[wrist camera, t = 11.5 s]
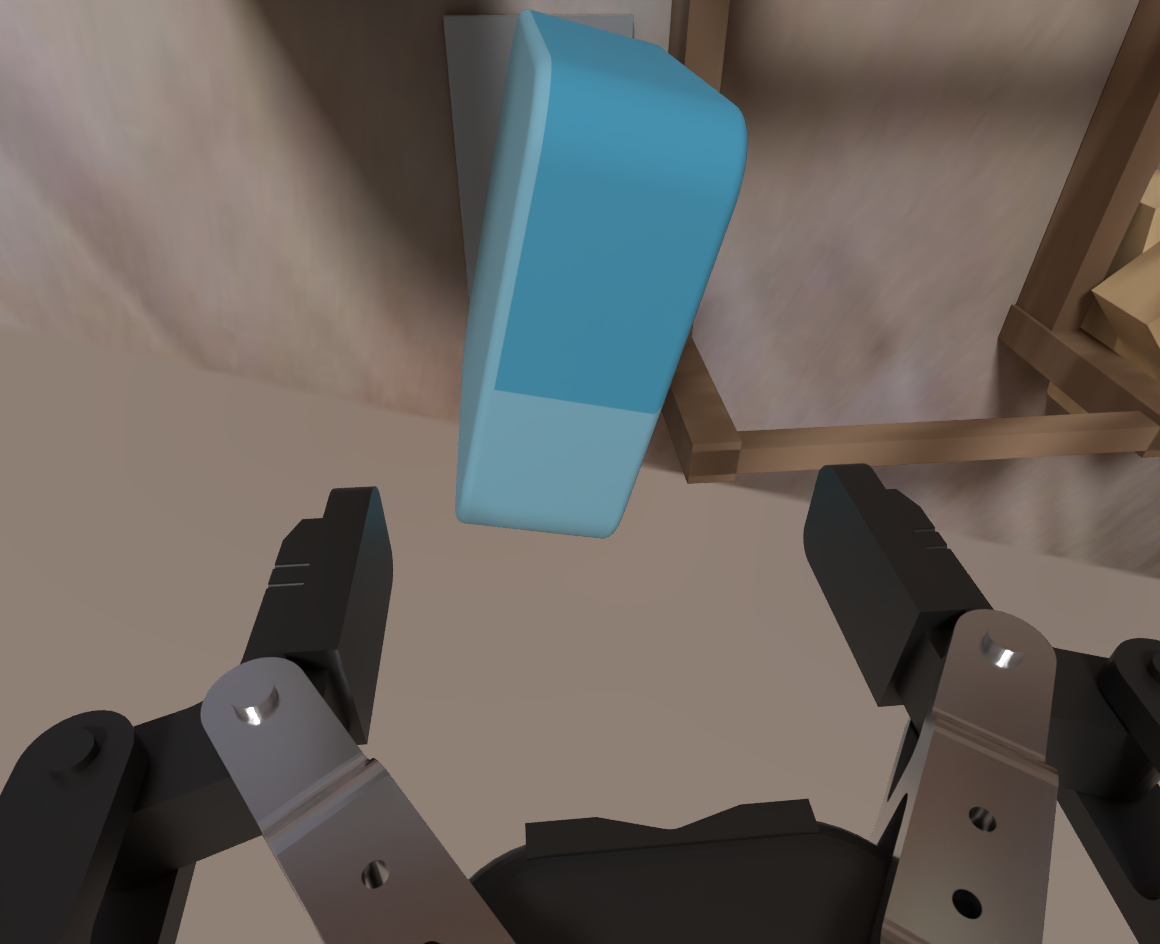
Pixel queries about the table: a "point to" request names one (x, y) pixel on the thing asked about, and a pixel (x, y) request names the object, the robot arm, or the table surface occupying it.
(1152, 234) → the offcut lower
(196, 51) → the table surface
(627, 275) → the blue rounded block
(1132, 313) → the offcut upper
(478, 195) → the mat
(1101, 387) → the frame
